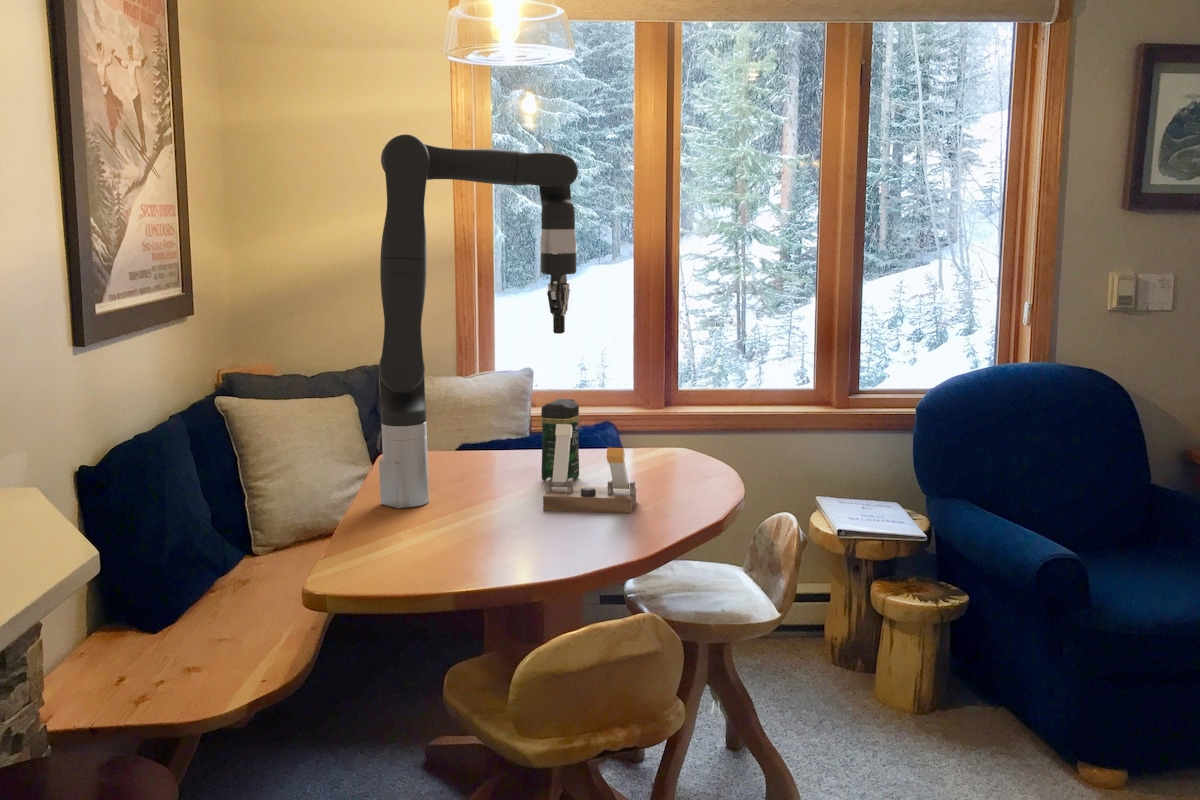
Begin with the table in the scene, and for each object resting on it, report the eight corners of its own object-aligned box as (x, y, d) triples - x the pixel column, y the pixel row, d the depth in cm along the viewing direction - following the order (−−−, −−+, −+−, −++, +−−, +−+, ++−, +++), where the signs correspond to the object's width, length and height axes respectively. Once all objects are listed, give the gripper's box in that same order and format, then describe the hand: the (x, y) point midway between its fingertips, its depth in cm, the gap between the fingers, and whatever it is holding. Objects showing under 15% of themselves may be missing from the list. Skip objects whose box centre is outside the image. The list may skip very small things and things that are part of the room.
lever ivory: (552, 487, 219) (557, 427, 223) (567, 488, 218) (572, 427, 223) (550, 485, 217) (556, 424, 221) (565, 485, 216) (571, 424, 221)
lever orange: (614, 482, 217) (607, 447, 206) (629, 483, 216) (623, 448, 206) (613, 491, 216) (606, 456, 205) (628, 491, 215) (622, 456, 204)
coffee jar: (570, 485, 235) (569, 403, 232) (537, 483, 237) (536, 402, 234) (584, 476, 244) (583, 397, 241) (551, 473, 246) (550, 395, 243)
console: (551, 499, 223) (550, 473, 222) (637, 501, 220) (637, 476, 219) (542, 510, 214) (542, 484, 213) (631, 513, 211) (631, 486, 211)
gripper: (547, 250, 228) (547, 330, 231) (534, 251, 215) (535, 336, 218) (581, 250, 227) (581, 330, 230) (570, 251, 214) (571, 336, 217)
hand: (559, 333), depth 224 cm, fingers closed
